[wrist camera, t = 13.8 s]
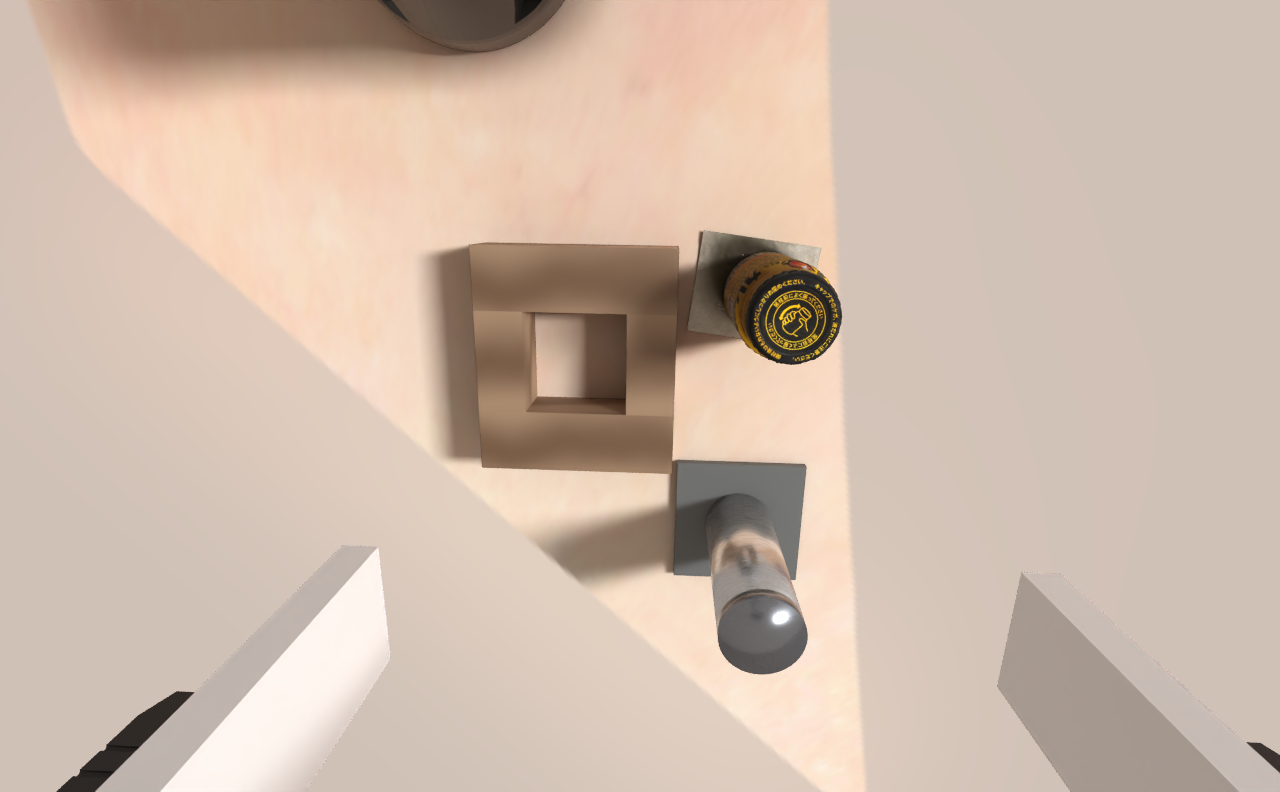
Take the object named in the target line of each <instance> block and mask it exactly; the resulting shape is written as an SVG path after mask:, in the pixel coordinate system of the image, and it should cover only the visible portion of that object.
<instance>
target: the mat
mask: <svg viewBox="0 0 1280 792" xmlns="http://www.w3.org/2000/svg"><path fill="white" fill-rule="evenodd" d="M805 477H806V465H805V464H785V463H755V462H725V461H694V460H678V466H677V494H676V521H675V549H674V575H686V576H711V571H710V562H709V553H708V544H707V534H706V525H705V521H706V516H707V513H708V511H709V509H710V507H711V506H712V505H713V504H714V503H715V502H716V501H717V500H719V499H720V498H722V497H724V496H726V495H730V494H735V493H741V494H747V495H751V496H753V497H755V498H757V499H758V500H760V501H761V502H762V503H763V504H764V505H765V506H766V508H767V510H768V512H769V515H770V518H771V521H772V524H773V527H774V530H775V533H776V536H777V539H778V542H779V545H780V548H781V551H782V554H783V557H784V560H785V564H786V567H787V570H788V573H789V576H790V579H791V580H795V579H796V569H797V558H798V548H799V538H800V528H801V518H802V507H803V497H804V487H805Z"/></svg>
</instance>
